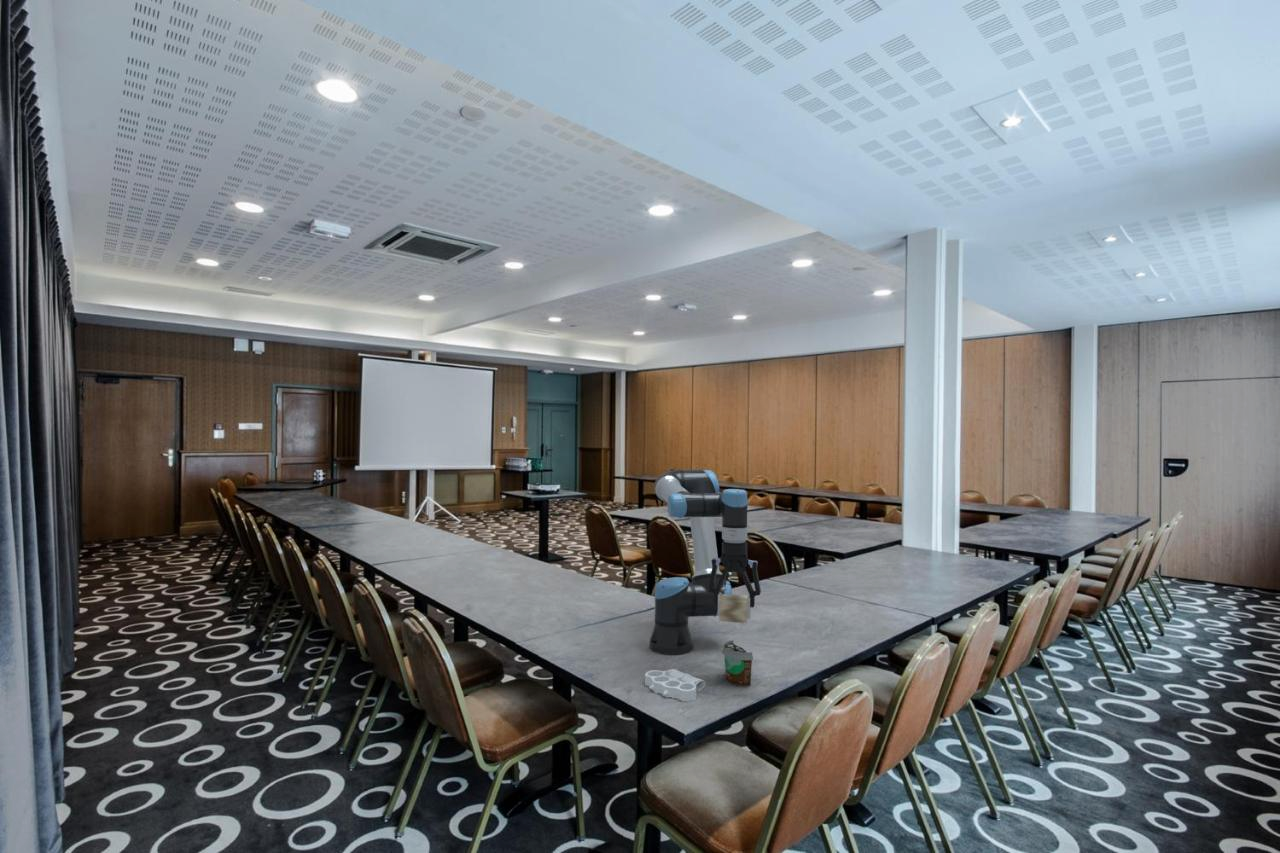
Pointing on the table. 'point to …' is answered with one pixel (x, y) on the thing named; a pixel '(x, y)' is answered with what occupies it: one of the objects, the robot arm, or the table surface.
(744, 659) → the food container
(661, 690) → the white brass knuckles
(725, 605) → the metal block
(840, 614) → the table surface
